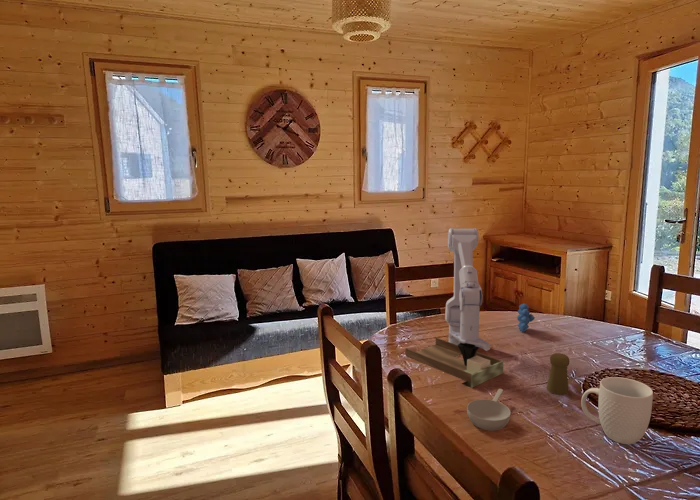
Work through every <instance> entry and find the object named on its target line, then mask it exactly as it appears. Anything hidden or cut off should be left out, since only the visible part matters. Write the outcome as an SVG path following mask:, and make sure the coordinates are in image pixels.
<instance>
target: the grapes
mask: <svg viewBox="0 0 700 500" xmlns="http://www.w3.org/2000/svg"><path fill="white" fill-rule="evenodd" d="M518 308H519V309H518V310H517V313H518V315H517V317H516V318H517V319H516V320H517V321H518V323H517V326H518V329H519V331H520V333H521V332H522V333H525V332H526V331H527V330H528V329H529V327H530V326H529V325H528V324H529V323H530V322H533V321H534V320H535V319H536V317H535V316H534V315H533V314H532V313H531V312H530V310H529V309H530V307H529V305H528V304H527V303H520V304H519V306H518Z"/></svg>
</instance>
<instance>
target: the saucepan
mask: <svg viewBox="0 0 700 500" xmlns="http://www.w3.org/2000/svg"><path fill="white" fill-rule="evenodd" d="M503 392H504V389H502V388H498V389H497V391H496V393H495V395H494V397H493V398H492V400H491V399H475V400H472V401H470V402H468V404H467V406H466V413H467V416H468V418H469V420H470V422H471V424H472V425H474V427H477V428H479V429H480V430H481V429H482V430H484V431H490V432H491V431H493V432H494V431H495V432H496V431H499V430H502V429H504V428H505V426H506V425H507V424H508V423H509V421H510V418H511V410H510V408H509V407H508V406H506V404H504V403H502V402H499V399H500V398H501V396H502V395H503Z"/></svg>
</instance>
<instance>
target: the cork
mask: <svg viewBox="0 0 700 500" xmlns="http://www.w3.org/2000/svg"><path fill="white" fill-rule="evenodd" d="M549 362H550V364H551V365H550V366H551V367H550V371H549V374H548V380H547V383H546V384H547V385H546V391H548V392H549V393H551V394H553V395H558V396H564V395H565V396H566V395H568V394H569V393H570V392H569V391H570V389H569V378H568V367H569V365H570V357H569V356H568V355H567V354H564V353H561V352H555V353H552V354H551V355H550V357H549Z"/></svg>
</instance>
